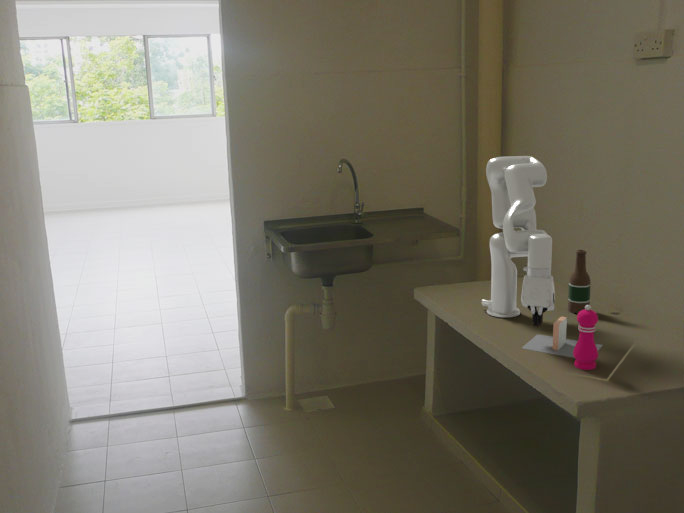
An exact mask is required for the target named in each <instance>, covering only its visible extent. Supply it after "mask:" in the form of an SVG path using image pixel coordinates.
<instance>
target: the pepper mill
mask: <svg viewBox="0 0 684 513" xmlns="http://www.w3.org/2000/svg"><path fill="white" fill-rule="evenodd" d="M576 315H577V316H576V321H577V323H578V328H577V330H578V331H579V335H578V340H577V341H578V342H577V344H576V345H575V347H574V350H573V356H574V358H573V359H575V360H574V363H573V366H574V367H575V368H577V369H580V370H584V371H587V370H588V371H589V370H594V369H596V367H597V362H596V360H597V359H598V357H599V350H597V347H596V345H595V344H596V342H595V336H594V334H595V331H596V330H597V329H596V328H597V327H596V324H597V323H598V322H599V318H598V317H599V316H598V313H597V312H596V311H594V310H593V309H592V306H591V305H590V304H589V305H586V306H585V309H584V310H581V311H580V312H579V313H578V314H576Z"/></svg>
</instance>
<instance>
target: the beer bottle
mask: <svg viewBox="0 0 684 513" xmlns="http://www.w3.org/2000/svg"><path fill="white" fill-rule="evenodd" d="M575 253H576V257H575V258H576V259H575V266H574V271H573V272H572V273H571V274H570V276H569V279H568V280H569V281H568V298H567V299H568V300H567V311H568V312H569V313H571V314H575V313H576V315H578V313H579V312H580V311H581V310H584V309H585V306H586V305H590V301H591V299H590V298H591V277H590V275H589V274H588V272H587V265H586V264H587V263H586V261H587V260H586V259H587V258H586V255H587V250H584V249H578V250H576V252H575Z"/></svg>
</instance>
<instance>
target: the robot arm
mask: <svg viewBox="0 0 684 513" xmlns="http://www.w3.org/2000/svg"><path fill="white" fill-rule="evenodd" d="M485 173H486V179H487V183H488V186H489V190H490V193H491V210H492V213H491V214H492V216H491V217H492V223H493V225H494V227H495V228H497V229H501V230H502V232H498V233H494V234H492V236H491V237H490V238H489V244H488V245H489V251H490V261H491V280H490V281H491V282H490V284H491V286H490V299H489V300H487V299H481V306H483V307H488V308H486V314H487V315H489V316H492V317H495V318H506V319H508V318H515V317H517V316H519V315H520V314H521V310H520V309H519V308H518V307H517V290H518V288H517V285H518V269H517V266H516V264H515V263H514V262H513V261H512V258H523V257H527V265H526V266H523V271H524V272H526V274H524V277H523V282H522V285H521V286H522V287H521V296H520V301H521V306H522V307H525V308H527V309H528V310H529V311H530V313H531V315H532V320H531V321H532V323H533V327H539V326H541V325H542V324H543V320H544V313H545V312H548V311H554V309H555V300H556V297H555V296H556V291H555V281H554V276H553V275H552V256H553V254H552V252H553V238H552V236H551V235H549V234H548V233H547V231H545V230H544V229H537V214H536V213H537V212H536V210H535V206H536V203H537V199H536V197H535V193H534V188H540V187H541V188H542V187H543V186H545V185H546V183H547V181H548V180H547V179H548V173H547V169H546V167H545V166H544V164H543V163H542V162H540V160H538V159H537V158H535V157H533V156H531V155H518V156H517V155H516V156H515V155H514V156H513V155H512V156H510V155H509V156H496V157H494V158H491V159H489V160H488V161H487V164H486V168H485ZM515 229H521V230H515Z"/></svg>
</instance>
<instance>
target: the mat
mask: <svg viewBox="0 0 684 513" xmlns="http://www.w3.org/2000/svg"><path fill="white" fill-rule="evenodd" d="M577 342H578V340H575V339H569V338H566V343H565V344H564V345H563V346H562V347H561V348H560V349H559V350H553V336H551V335H545V334H539V333H538V334H536V335H535V336H534V337H532V339H530V340H529V341H528V342H526V344H524V345H523V346H522V347H521V349H524V350H529V351H534V352H540V353H545V354H550V355H556V356H561V357H562V356H563V357H566V358H573V359H575V358H574V356H573V350H574V347H575V345H576V344H577ZM595 345H596V347H597V350H598V351H600V350H601V348H602V347H603V346H604V345H603V344H598V343H595Z"/></svg>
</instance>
